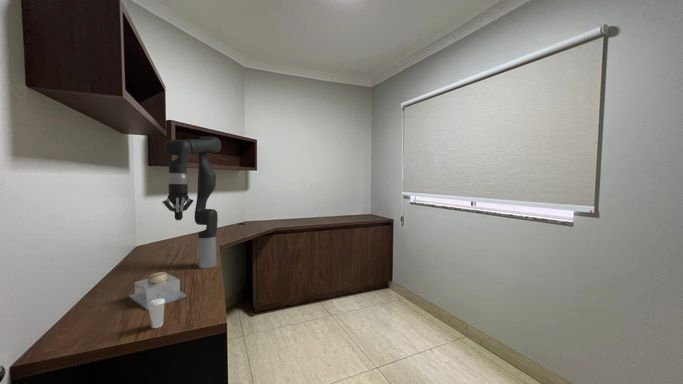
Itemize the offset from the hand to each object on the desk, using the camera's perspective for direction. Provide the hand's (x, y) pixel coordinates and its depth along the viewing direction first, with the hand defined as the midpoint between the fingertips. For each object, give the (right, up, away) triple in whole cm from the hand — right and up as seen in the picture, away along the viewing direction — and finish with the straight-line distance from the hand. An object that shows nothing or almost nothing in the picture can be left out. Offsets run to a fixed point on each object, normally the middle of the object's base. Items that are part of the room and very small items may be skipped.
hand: (178, 220), depth 119 cm
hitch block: (-2, -31, -11) cm, 33 cm away
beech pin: (-1, -30, -11) cm, 32 cm away
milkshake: (+13, -33, -32) cm, 48 cm away
